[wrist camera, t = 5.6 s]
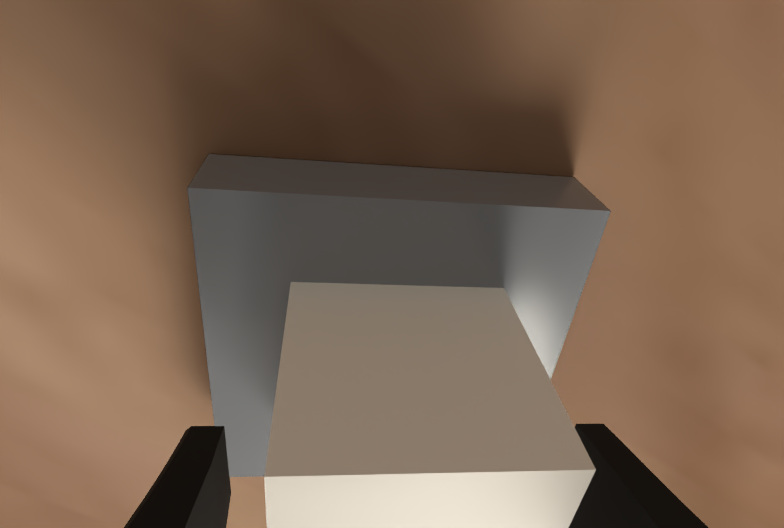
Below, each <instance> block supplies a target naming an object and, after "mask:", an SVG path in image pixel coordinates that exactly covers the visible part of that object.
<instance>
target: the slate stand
mask: <svg viewBox="0 0 784 528" xmlns="http://www.w3.org/2000/svg"><path fill="white" fill-rule="evenodd" d="M187 189H188V198H189V207H190V215H191V224H192V233H193V241H194V250H195V259H196V268H197V276H198V285H199V294H200V303H201V311H202V320H203V329H204V337H205V346H206V355H207V364H208V372H209V381H210V390H211V398H212V407H213V416H214V425H215V426H224V428H225V438H226V448H227V458H228V468H229V477H249V476H264V475H265V468H266V461H267V453H268V446H269V439H270V431H271V424H272V416H273V409H274V402H275V394H276V387H277V380H278V372H279V365H280V358H281V350H282V343H283V335H284V328H285V321H286V313H287V306H288V299H289V291H290V284H291V282H311V283H346V284H381V285H416V286H450V287H485V288H504V289H505V291H506V293H507V295H508V297H509V299H510V301H511V303H512V305H513V307H514V309H515V311H516V313H517V315H518V317H519V319H520V321H521V323H522V325H523V327H524V329H525V330H526V332H527V334H528V336H529V338H530V340H531V342H532V344H533V346H534V348H535V350H536V352H537V354H538V356H539V358H540V360H541V362H542V364H543V366H544V368H545V370H546V372H547V374H548V376H549V378H550V380H551V377H552V374H553V372H554V369H555V366H556V363H557V360H558V358H559V355H560V352H561V349H562V346H563V344H564V341H565V338H566V335H567V332H568V330H569V327H570V324H571V321H572V318H573V316H574V313H575V310H576V307H577V304H578V301H579V299H580V296H581V293H582V290H583V287H584V285H585V282H586V279H587V276H588V273H589V271H590V268H591V265H592V262H593V259H594V257H595V254H596V251H597V248H598V245H599V243H600V240H601V237H602V234H603V231H604V229H605V226H606V223H607V220H608V217H609V215H610V212H611V211H610V210H609V209H608V208H607V207H606V206H605V205H604V204H603V203H602V202H601V201H599V200H598V199H597V198H596V197H595V196H594V195H593V194H592V193H591V192H590V191H589V190H588V189H587V188H586V187H584V186H583V185H582V184H581V183H580V182H579V181H578V180H577V179H576V178H575V177H563V176H547V175H532V174H516V173H500V172H484V171H469V170H453V169H437V168H422V167H406V166H390V165H374V164H359V163H343V162H327V161H311V160H296V159H280V158H264V157H249V156H233V155H217V154H208V156H207V158H206V159H205V161H204V162H203V164H202V166H201V167H200V169H199V170H198V172H197V173H196V175H195V177H194V178H193V180H192V181H191V183H190V184H189V186H188V188H187Z"/></svg>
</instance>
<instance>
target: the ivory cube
mask: <svg viewBox="0 0 784 528" xmlns="http://www.w3.org/2000/svg"><path fill="white" fill-rule="evenodd" d="M595 471H596V469H595V467H594V465H593V463H592V461H591V459H590V457H589V455H588V453H587V451H586V449H585V447H584V445H583V443H582V441H581V439H580V437H579V435H578V433H577V431H576V429H575V427H574V425H573V423H572V421H571V419H570V417H569V415H568V413H567V411H566V410H565V408H564V406H563V404H562V402H561V400H560V398H559V396H558V394H557V392H556V390H555V388H554V386H553V384H552V382H551V380H550V378H549V376H548V374H547V372H546V370H545V368H544V366H543V364H542V362H541V360H540V358H539V356H538V354H537V352H536V350H535V348H534V346H533V344H532V342H531V340H530V338H529V336H528V334H527V332H526V330H525V329H524V327H523V325H522V323H521V321H520V319H519V317H518V315H517V313H516V311H515V309H514V307H513V305H512V303H511V301H510V299H509V297H508V295H507V293H506V291H505V289H504V288H485V287H450V286H416V285H381V284H346V283H311V282H291V284H290V291H289V299H288V306H287V313H286V321H285V328H284V335H283V343H282V350H281V358H280V365H279V372H278V380H277V387H276V394H275V402H274V409H273V416H272V424H271V431H270V439H269V446H268V453H267V461H266V468H265V475H264V481H265V501H266V520H267V528H569V526H570V524H571V521H572V519H573V517H574V515H575V513H576V511H577V509H578V507H579V505H580V502H581V500H582V498H583V496H584V494H585V492H586V490H587V488H588V486H589V483H590V481H591V479H592V477H593V475H594V473H595Z"/></svg>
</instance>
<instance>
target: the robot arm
mask: <svg viewBox="0 0 784 528" xmlns="http://www.w3.org/2000/svg"><path fill="white" fill-rule="evenodd" d="M575 429H576V431H577V433H578V435H579V437H580V439H581V441H582V443H583V445H584V447H585V449H586V451H587V453H588V455H589V457H590V459H591V461H592V463H593V465H594V467H595V469H596V471H595V473H594V475H593V477H592V479H591V481H590V483H589V486H588V488H587V490H586V492H585V494H584V496H583V498H582V500H581V502H580V505H579V507H578V509H577V511H576V513H575V515H574V517H573V519H572V521H571V524H570V526H569V528H708V527H707V526H706V525H705V524H704V523H703V522H702V521H701V520H700V519H699V518H698V517H697V516H696V515H695V514H694V513H693V512H692V511H690V510H689V509H688V508H687V507H686V506H685V505H684V504H683V503H682V502H681V501H680V500H679V499H678V498H677V497H676V496H675V495H674V494H673V493H672V492H671V491H670V490H669V489H668V488H667V487H666V486H665V485H664V484H663V483H662V482H661V481H660V480H659V479H658V478H657V477H656V476H655V475H654V474H653V473H652V472H651V471H650V470H649V469H648V468H647V467H646V466H645V465H644V464H643V463H642V462H641V461H640V460H639V459H638V458H637V457H636V456H635V455H634V454H633V453H632V452H631V451H630V450H629V449H628V448H627V447H626V446H625V445H624V444H623V443H622V442H621V441H620V440H619V439H618V438H617V437H616V436H615V435H614V434H613V433H612V432H611V431H610V430H609V429H608V428H607V427H606V426H605V425H604V424H576V426H575ZM230 496H231V488H230V478H229V468H228V458H227V448H226V438H225V428H224V426H191V427H190V428H189V429H187V430H186V431H185V433H184V435H183V437H182V438H181V440H180V442H179V444H178V445H177V447H176V449H175V450H174V452H173V454H172V455H171V457H170V459H169V460H168V462H167V464H166V465H165V467H164V469H163V470H162V472H161V473H160V475H159V476H158V478H157V480H156V481H155V483H154V484H153V486H152V487H151V489H150V490H149V492H148V493H147V495H146V496H145V498H144V499H143V501H142V502H141V504H140V505H139V507H138V508H137V509H136V511H135V512H134V514H133V515H132V517H131V518H130V520H129V521H128V522H127V524H126V525H125V527H124V528H226V524H227V517H228V510H229V503H230Z"/></svg>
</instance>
